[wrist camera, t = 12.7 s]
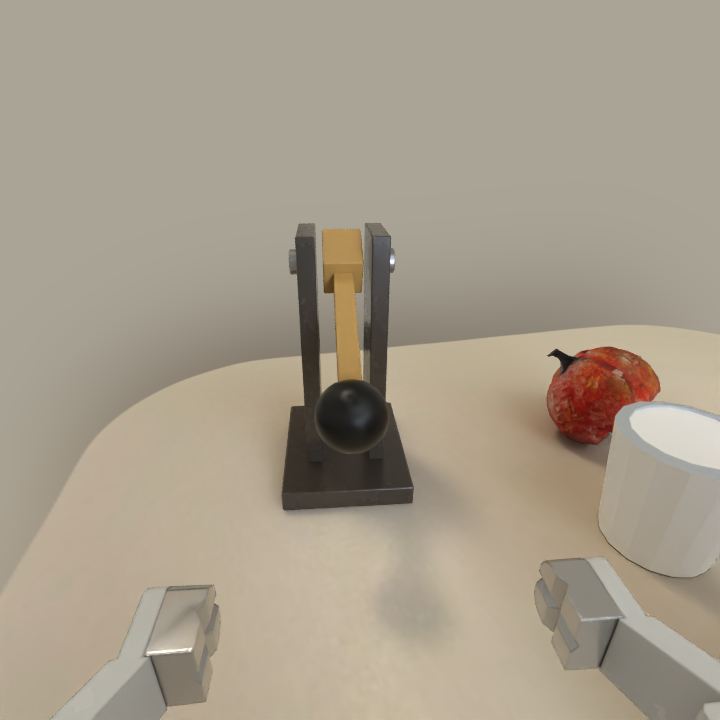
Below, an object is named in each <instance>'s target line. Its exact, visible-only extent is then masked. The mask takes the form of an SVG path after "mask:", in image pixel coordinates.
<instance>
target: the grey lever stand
mask: <svg viewBox="0 0 720 720" xmlns="http://www.w3.org/2000/svg"><path fill="white" fill-rule="evenodd" d="M295 245H296V249H290V250H289V268H290V273H291V274H297V280H298V299H299V315H300V333H301V351H302V368H303V386H304V403H305V406H292V407H291V413H290V422H289V432H288V441H287V450H286V459H285V468H284V477H283V486H282V504H283V510H293V509H311V508H329V507H347V506H365V505H383V504H401V503H412V502H413V488H414V487H413V483H412V480H411V476H410V473H409V469H408V465H407V462H406V458H405V454H404V451H403V447H402V443H401V440H400V436H399V432H398V429H397V425H396V421H395V418H394V414H393V410H392V407H391V403H387V405H388V410H389V424H388V428H387V431H386V433H385V435H384V437H383V438H382V440H381V441H380V442H379V443H378V444H377V445H376V446H375V447H374V448H372V449H370V450H369V451H366V452H364V453H360V454H354V455H349V454H343V453H339V452H337V451H335V450H333V449H331V448H330V447H329V446H327V445H326V444H325V443H324V442H323V440H322V439H321V437H320V436H319V434H318V432H317V429H316V425H315V419H314V416H315V408H316V405H317V402H318V400H319V398H320V396H321V395H322V392H321V365H320V339H319V312H318V286H317V259H316V232H315V224H299V226H298V230H297V233H296V237H295ZM364 261H365V263H364V365H363V381H365V382H367V383H369V384H371V385H373V386H374V387H375V388H376V389H378V390H379V391H380V393H381V394H382V395H383V397H384V398H385V399H386V370H387V340H388V338H387V337H388V312H389V283H390V273H393V272H394V267H395V252H394V249H393V248H391V236H390V235H389V234H388V232H387V231H386V230H385V228H384V227H383V226H382V225H381V223H365V258H364Z"/></svg>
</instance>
